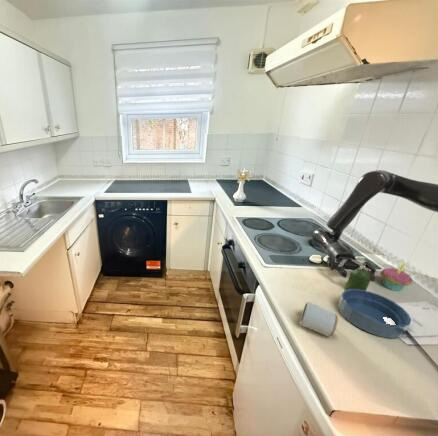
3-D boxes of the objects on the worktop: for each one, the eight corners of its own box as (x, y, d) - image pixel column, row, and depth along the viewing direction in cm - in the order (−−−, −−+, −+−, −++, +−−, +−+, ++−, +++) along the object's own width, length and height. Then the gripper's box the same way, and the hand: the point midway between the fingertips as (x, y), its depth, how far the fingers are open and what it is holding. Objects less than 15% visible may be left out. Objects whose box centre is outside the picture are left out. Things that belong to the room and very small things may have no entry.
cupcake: (407, 297, 86) (422, 269, 81) (376, 286, 91) (388, 260, 86) (406, 285, 91) (419, 259, 87) (376, 276, 97) (388, 251, 92)
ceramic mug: (331, 343, 68) (339, 323, 65) (298, 329, 73) (305, 310, 70) (331, 320, 76) (338, 301, 73) (301, 309, 81) (307, 291, 78)
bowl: (383, 305, 82) (389, 293, 80) (418, 344, 68) (426, 332, 66) (329, 296, 86) (333, 285, 84) (351, 332, 72) (357, 319, 70)
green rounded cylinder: (359, 287, 91) (368, 265, 87) (367, 297, 86) (377, 274, 82) (342, 285, 92) (350, 263, 88) (349, 294, 87) (358, 271, 83)
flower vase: (230, 204, 179) (235, 171, 169) (230, 196, 195) (235, 166, 185) (249, 205, 175) (255, 172, 165) (247, 198, 191) (252, 167, 181)
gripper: (323, 244, 102) (339, 265, 87) (362, 249, 98) (386, 271, 84) (318, 259, 104) (333, 282, 90) (356, 264, 101) (378, 288, 86)
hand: (359, 277), depth 87 cm, fingers open, 8 cm apart
